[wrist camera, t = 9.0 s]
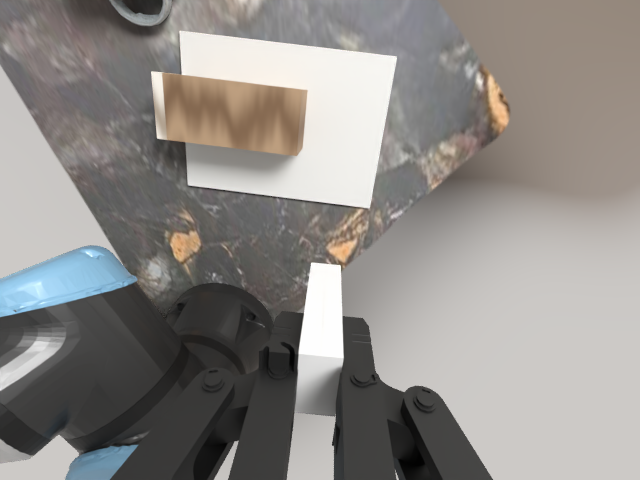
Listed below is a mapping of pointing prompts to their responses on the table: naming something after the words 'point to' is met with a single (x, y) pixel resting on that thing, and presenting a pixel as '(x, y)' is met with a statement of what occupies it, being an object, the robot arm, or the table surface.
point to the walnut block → (229, 113)
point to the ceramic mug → (142, 18)
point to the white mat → (320, 120)
